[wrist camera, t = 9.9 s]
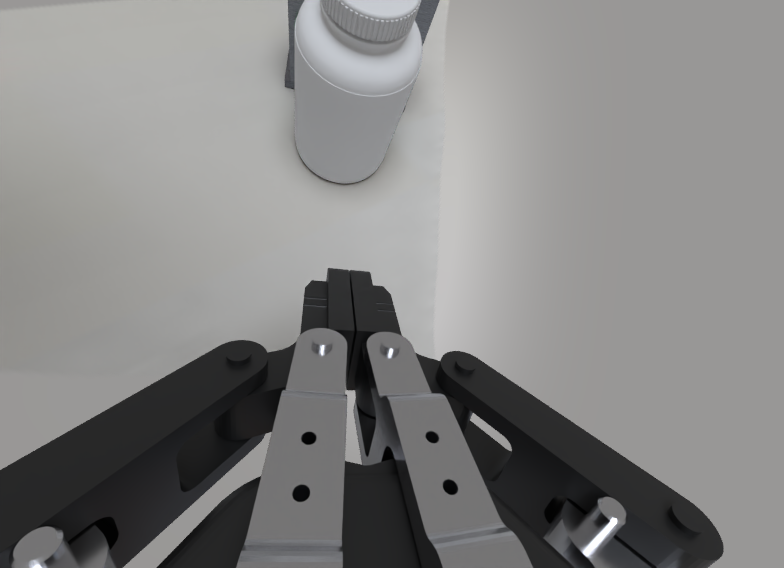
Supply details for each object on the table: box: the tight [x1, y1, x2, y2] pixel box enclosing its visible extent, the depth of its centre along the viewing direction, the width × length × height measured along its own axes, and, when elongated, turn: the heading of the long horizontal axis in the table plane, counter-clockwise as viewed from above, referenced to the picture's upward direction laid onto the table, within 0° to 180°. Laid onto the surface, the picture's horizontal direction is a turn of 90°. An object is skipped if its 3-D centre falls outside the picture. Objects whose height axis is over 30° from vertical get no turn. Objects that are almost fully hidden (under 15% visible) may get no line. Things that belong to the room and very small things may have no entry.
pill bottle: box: [294, 0, 422, 183], centre depth 26 cm, size 8×8×15 cm
